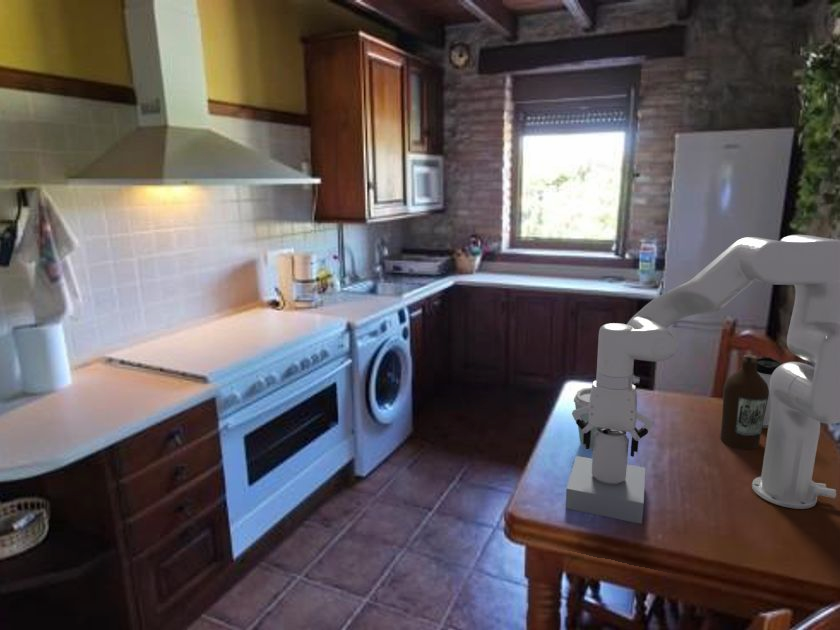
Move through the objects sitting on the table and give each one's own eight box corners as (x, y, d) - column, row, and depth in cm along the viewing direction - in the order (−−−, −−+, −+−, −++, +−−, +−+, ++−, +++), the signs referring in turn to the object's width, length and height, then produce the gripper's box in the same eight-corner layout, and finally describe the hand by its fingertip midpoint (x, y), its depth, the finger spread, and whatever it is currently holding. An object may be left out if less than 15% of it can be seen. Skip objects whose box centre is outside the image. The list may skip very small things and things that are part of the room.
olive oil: (711, 432, 159) (720, 350, 153) (749, 433, 158) (760, 350, 152) (728, 450, 149) (739, 362, 143) (769, 451, 148) (782, 362, 142)
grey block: (643, 486, 132) (645, 467, 131) (641, 524, 118) (643, 503, 117) (575, 474, 138) (576, 455, 137) (565, 508, 124) (566, 488, 123)
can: (599, 466, 132) (601, 420, 129) (630, 476, 127) (634, 428, 125) (586, 479, 126) (588, 431, 124) (618, 490, 122) (622, 440, 119)
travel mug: (771, 422, 165) (781, 358, 161) (771, 430, 160) (781, 365, 155) (747, 417, 169) (756, 355, 164) (746, 425, 163) (755, 361, 158)
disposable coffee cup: (614, 454, 148) (618, 402, 144) (573, 451, 150) (575, 400, 146) (608, 436, 158) (611, 387, 154) (569, 434, 160) (572, 386, 156)
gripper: (656, 378, 121) (651, 449, 125) (576, 370, 128) (573, 437, 132) (656, 390, 115) (650, 464, 119) (571, 380, 121) (568, 451, 125)
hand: (609, 450), depth 125 cm, fingers open, 9 cm apart
